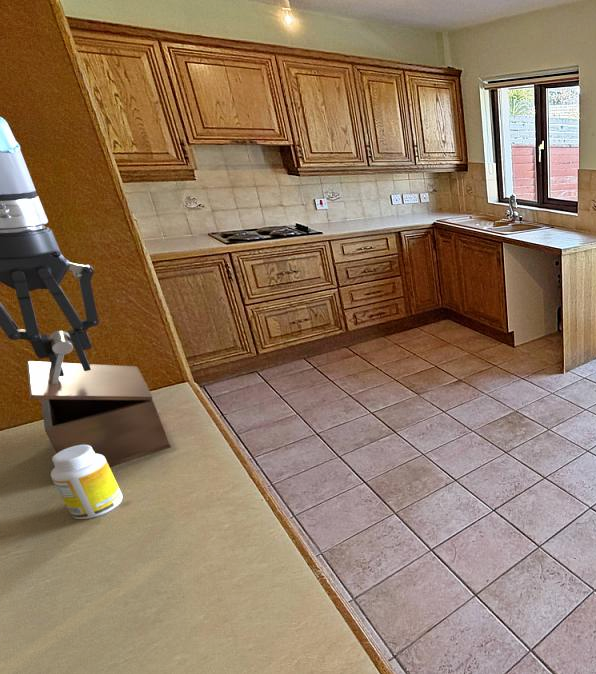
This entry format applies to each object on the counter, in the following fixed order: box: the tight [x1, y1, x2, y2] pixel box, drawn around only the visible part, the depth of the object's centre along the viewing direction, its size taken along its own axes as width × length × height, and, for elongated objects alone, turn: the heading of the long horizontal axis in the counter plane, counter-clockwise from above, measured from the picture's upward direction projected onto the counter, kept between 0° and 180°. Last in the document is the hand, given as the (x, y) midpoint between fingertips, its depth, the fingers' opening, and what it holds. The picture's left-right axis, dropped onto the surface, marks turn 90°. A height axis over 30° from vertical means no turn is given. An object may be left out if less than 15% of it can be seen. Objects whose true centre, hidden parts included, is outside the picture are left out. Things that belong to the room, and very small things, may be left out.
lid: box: [26, 330, 154, 400], centre depth 80 cm, size 14×16×8 cm
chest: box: [40, 398, 172, 468], centre depth 83 cm, size 13×16×10 cm
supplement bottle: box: [50, 445, 123, 520], centre depth 70 cm, size 6×6×10 cm
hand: (73, 370), depth 78 cm, fingers closed on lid, 2 cm apart
